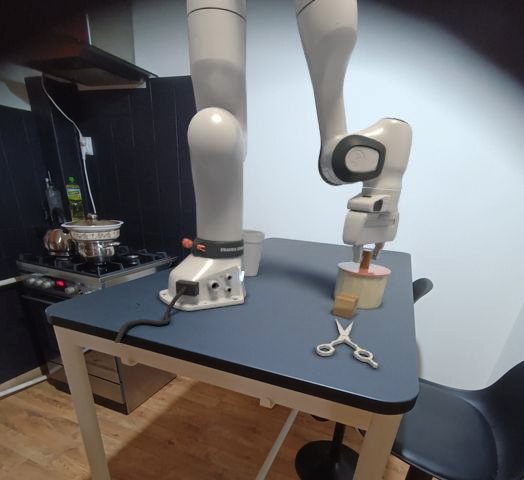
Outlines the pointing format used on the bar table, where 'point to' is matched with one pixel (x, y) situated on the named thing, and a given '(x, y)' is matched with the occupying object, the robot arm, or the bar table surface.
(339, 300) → the block
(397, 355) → the bar table surface
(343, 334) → the scissors
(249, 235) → the foam cup
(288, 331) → the bar table surface
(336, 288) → the pot
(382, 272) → the lid
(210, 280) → the robot arm
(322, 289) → the bar table surface
